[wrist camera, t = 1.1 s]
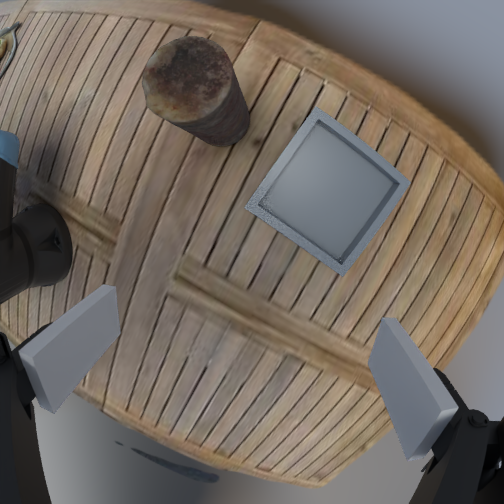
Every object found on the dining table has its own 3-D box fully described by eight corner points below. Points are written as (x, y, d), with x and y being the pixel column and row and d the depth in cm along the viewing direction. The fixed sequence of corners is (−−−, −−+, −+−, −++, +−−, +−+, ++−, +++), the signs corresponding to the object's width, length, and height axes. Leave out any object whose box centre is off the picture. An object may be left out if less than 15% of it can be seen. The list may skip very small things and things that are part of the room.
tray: (246, 205, 40) (244, 207, 37) (312, 111, 36) (315, 106, 33) (338, 269, 41) (342, 276, 38) (402, 181, 37) (410, 182, 34)
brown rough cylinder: (255, 98, 36) (236, 33, 17) (250, 149, 38) (225, 124, 18) (200, 96, 36) (140, 40, 17) (195, 146, 38) (126, 125, 19)
